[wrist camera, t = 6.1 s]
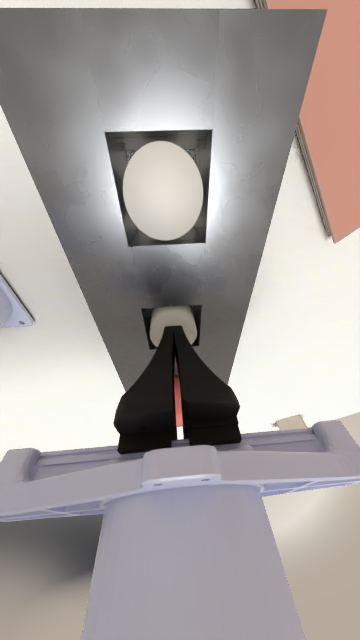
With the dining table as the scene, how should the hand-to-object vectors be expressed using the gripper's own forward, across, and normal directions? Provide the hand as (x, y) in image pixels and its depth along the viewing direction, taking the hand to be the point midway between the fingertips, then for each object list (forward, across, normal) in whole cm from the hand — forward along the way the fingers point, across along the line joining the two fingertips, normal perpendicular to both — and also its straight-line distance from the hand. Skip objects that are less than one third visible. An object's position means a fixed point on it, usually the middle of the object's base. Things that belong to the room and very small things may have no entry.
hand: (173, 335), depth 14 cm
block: (+6, 0, 0) cm, 6 cm away
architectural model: (+6, -27, +37) cm, 46 cm away
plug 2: (+5, 0, 0) cm, 5 cm away
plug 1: (+5, 0, -9) cm, 10 cm away
